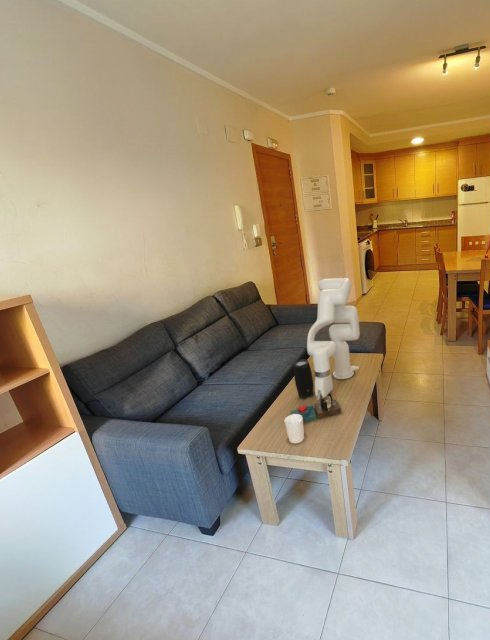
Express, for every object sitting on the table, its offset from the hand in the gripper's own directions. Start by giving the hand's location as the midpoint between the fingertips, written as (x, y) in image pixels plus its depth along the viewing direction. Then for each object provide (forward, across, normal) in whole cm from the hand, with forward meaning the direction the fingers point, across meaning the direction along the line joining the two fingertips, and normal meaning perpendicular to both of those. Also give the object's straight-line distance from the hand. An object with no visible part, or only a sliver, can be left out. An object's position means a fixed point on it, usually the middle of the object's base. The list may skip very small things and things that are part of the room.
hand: (326, 405), depth 166 cm
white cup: (+4, +23, -4) cm, 23 cm away
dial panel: (+3, 0, 0) cm, 3 cm away
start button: (0, +8, -9) cm, 12 cm away
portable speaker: (+4, -10, -19) cm, 22 cm away
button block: (+3, +8, -9) cm, 12 cm away
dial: (0, 0, 0) cm, 0 cm away
